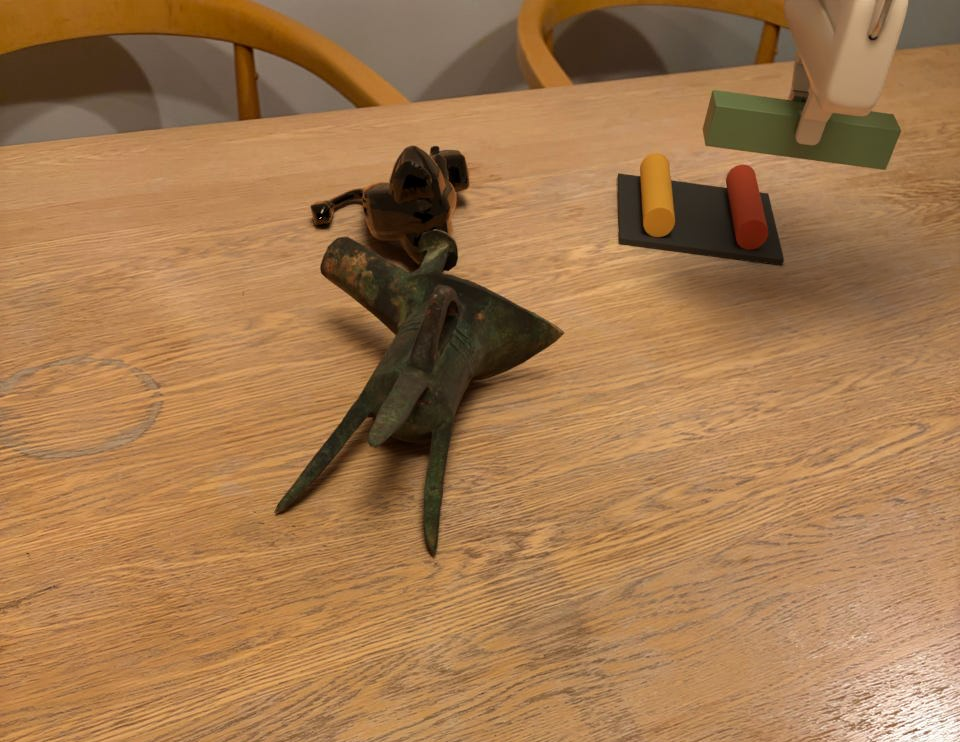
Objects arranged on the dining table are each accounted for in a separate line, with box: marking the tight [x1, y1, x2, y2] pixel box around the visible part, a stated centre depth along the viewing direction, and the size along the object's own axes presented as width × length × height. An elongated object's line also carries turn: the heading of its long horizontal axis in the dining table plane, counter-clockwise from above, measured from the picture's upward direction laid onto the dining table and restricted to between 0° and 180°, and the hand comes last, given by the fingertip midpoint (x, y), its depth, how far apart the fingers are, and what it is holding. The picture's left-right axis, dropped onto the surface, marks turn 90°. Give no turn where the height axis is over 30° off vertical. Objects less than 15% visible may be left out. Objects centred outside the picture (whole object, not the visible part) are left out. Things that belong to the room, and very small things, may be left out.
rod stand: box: [616, 152, 785, 266], centre depth 102 cm, size 16×14×4 cm
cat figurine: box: [309, 145, 471, 267], centre depth 95 cm, size 10×14×18 cm
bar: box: [702, 89, 902, 171], centre depth 78 cm, size 14×3×3 cm, turn 86°
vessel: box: [273, 229, 565, 557], centre depth 73 cm, size 19×12×25 cm
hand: (800, 128), depth 78 cm, fingers closed on bar, 3 cm apart
